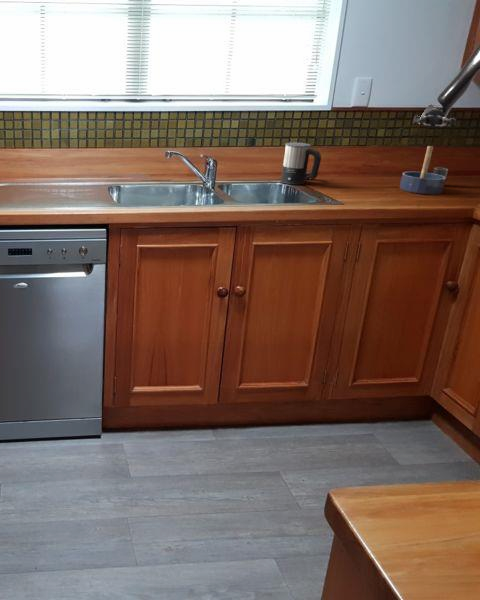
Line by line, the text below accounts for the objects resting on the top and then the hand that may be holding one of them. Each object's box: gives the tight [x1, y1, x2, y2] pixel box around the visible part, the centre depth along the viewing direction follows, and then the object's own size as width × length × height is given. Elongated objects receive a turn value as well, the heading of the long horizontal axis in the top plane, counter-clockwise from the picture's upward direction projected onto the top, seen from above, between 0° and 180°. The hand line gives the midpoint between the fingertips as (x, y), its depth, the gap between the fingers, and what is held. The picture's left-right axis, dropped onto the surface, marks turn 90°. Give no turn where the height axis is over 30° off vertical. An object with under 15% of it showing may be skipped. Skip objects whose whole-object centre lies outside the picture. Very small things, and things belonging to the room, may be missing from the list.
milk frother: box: [279, 142, 322, 185], centre depth 237 cm, size 14×16×15 cm
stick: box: [420, 145, 434, 179], centre depth 225 cm, size 2×2×16 cm
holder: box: [432, 167, 449, 184], centre depth 235 cm, size 5×5×7 cm
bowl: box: [399, 171, 446, 196], centre depth 227 cm, size 14×14×6 cm
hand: (434, 122), depth 228 cm, fingers open, 8 cm apart
